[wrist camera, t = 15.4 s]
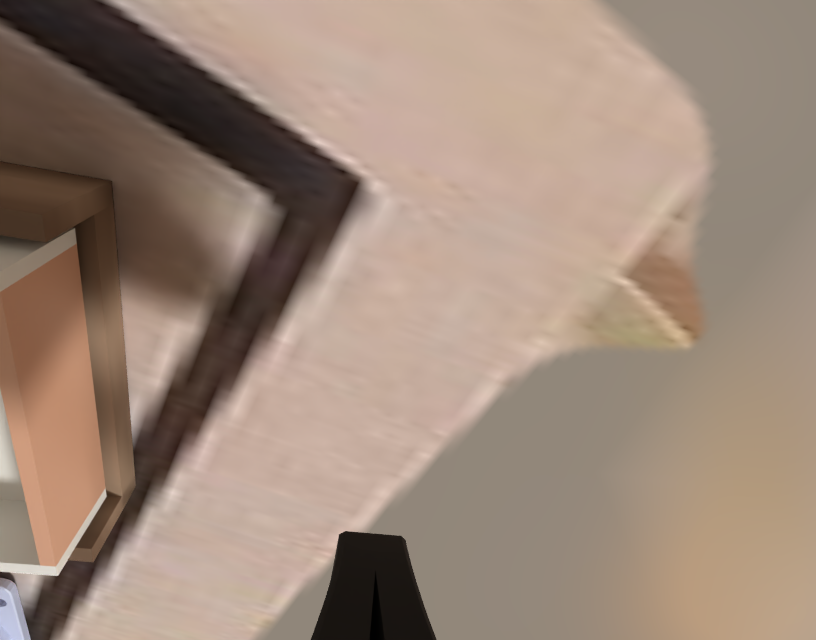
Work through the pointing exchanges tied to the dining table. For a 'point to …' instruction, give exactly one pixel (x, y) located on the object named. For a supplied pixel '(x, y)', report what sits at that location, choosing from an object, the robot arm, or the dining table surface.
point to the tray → (45, 407)
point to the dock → (97, 252)
